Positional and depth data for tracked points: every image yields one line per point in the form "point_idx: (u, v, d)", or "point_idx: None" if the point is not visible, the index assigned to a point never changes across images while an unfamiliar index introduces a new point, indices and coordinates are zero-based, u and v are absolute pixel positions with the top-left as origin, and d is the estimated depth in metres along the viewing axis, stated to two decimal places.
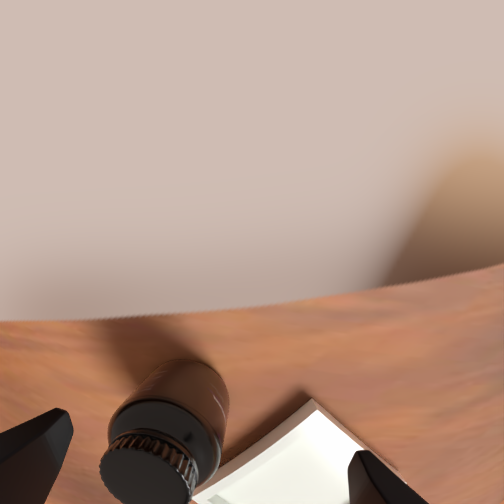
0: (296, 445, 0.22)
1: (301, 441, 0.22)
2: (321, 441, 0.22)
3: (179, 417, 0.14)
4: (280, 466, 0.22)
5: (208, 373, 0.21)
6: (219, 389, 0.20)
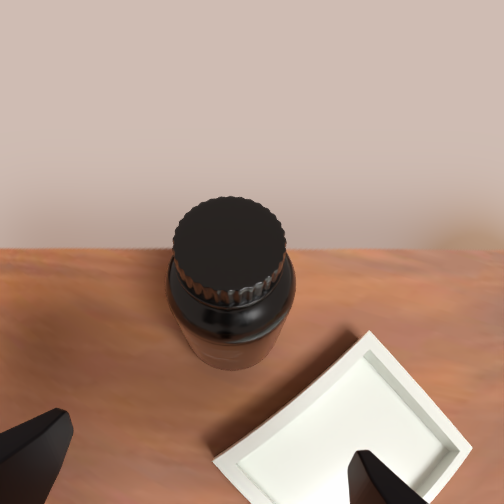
0: (347, 391, 0.20)
1: (352, 387, 0.21)
2: (374, 388, 0.21)
3: None
4: (329, 423, 0.19)
5: None
6: None
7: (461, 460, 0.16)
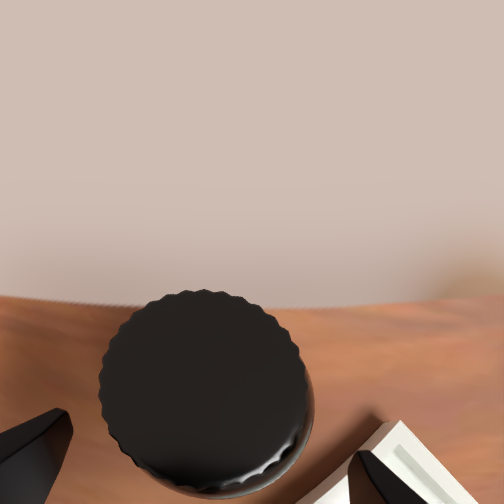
0: None
1: None
2: None
3: None
4: None
5: None
6: None
7: None
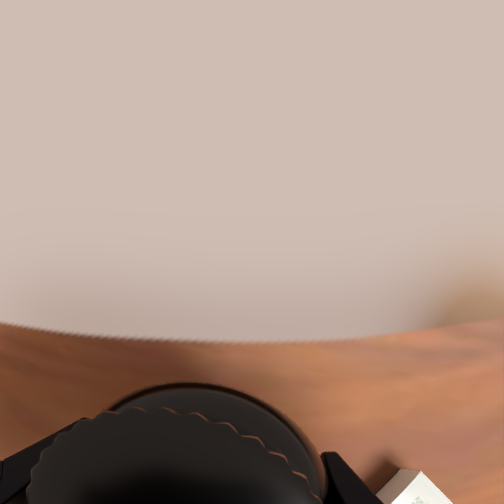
0: None
1: None
2: None
3: (263, 410, 0.07)
4: None
5: None
6: None
7: None
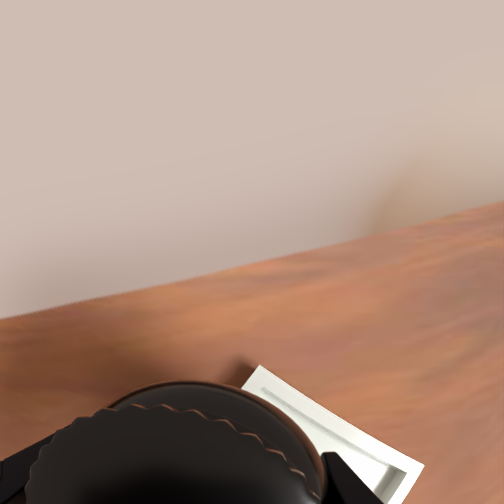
0: None
1: None
2: None
3: (262, 408, 0.07)
4: None
5: None
6: None
7: (411, 481, 0.15)
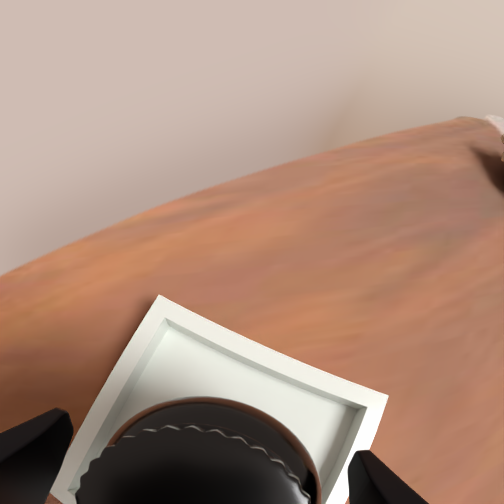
0: (166, 377, 0.16)
1: (170, 369, 0.17)
2: (200, 362, 0.17)
3: (266, 422, 0.08)
4: None
5: None
6: None
7: (376, 418, 0.14)
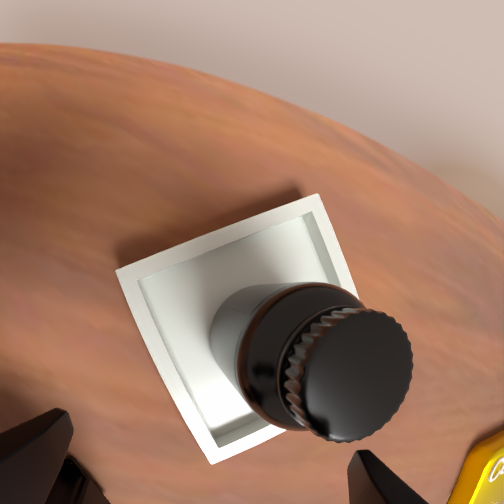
0: (275, 247, 0.22)
1: (282, 244, 0.22)
2: (303, 255, 0.22)
3: None
4: (246, 273, 0.21)
5: None
6: None
7: None
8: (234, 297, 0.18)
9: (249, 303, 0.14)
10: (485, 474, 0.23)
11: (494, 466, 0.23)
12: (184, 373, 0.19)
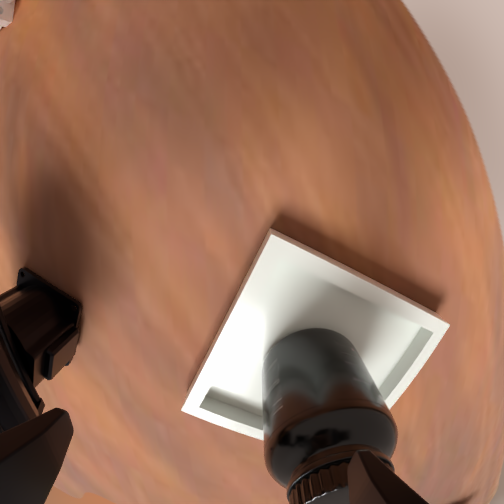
0: (386, 326, 0.20)
1: (392, 328, 0.20)
2: (394, 348, 0.20)
3: None
4: (351, 323, 0.20)
5: None
6: None
7: None
8: (329, 342, 0.18)
9: (341, 380, 0.14)
10: None
11: None
12: (235, 341, 0.21)
